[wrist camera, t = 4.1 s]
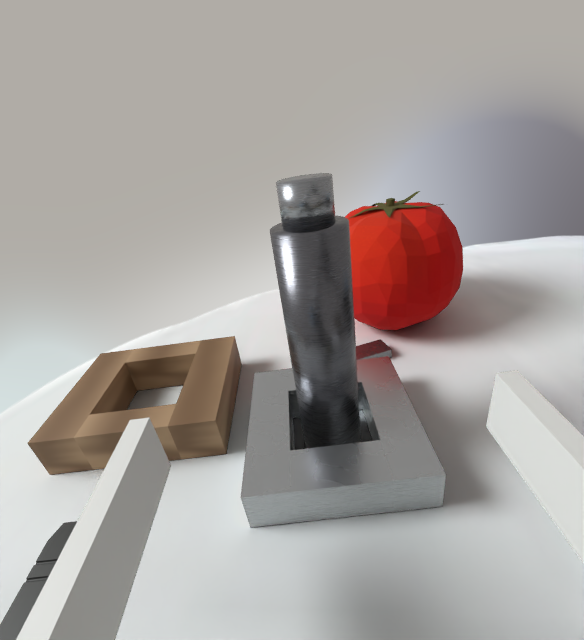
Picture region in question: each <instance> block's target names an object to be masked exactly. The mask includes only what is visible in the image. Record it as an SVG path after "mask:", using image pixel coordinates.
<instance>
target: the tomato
mask: <svg viewBox="0 0 584 640" xmlns="http://www.w3.org/2000/svg"><path fill="white" fill-rule="evenodd" d="M417 193H418V192H416V193H414V194H413V195H411V196H410V197H408V198H406V199H405V200H402V201H399V202H396V201H395V199H393V198H390V199H387V200H386V203H376V204H374V205H372V206H363V207H361V208H358V209H356V210H354V211H351V212H350V213H349V214H348V215H347V216H345V218H347V219H348V220H349V229H350V248H351V267H352V285H353V304H354V318H355V319H357V320H358V321H360V322H362V323H365V324H367V325H370V326H373V327H375V328H378V329H381V330H398V329H401V328H404V327H407V326H410V325H414V324H417V323H420V322H423V321H426V320H429V319H431V318H433V317H434V316H436V315H437V314H439V313H440V312H441V311H442V310H443V309H444V308H446V307H447V306H448V304H449V303H450V301H451V300H452V298H453V297H454V295H455V294H456V292H457V291H458V289H459V287H460V282H461V277H462V272H463V253H462V245H461V242H460V239H459V236H458V233H457V230H456V227H455V226H454V224H453V223H452V222H451V220H450V219H449V218H448V217H447V215H446V214H445V213H444V211H443V210H442V209H441V208H440V207H438V206H436V205H433V204H430V203H422V202H417V203H405V202H407V201H408V200H410V199H411V198H412V197H413V196H415V195H416V194H417ZM376 205H378V206H376Z"/></svg>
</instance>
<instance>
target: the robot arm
mask: <svg viewBox="0 0 584 640" xmlns="http://www.w3.org/2000/svg"><path fill="white" fill-rule="evenodd" d="M486 427H487V429H488V430H489V432H490V433H491V434H492V436H493V437H494V439H495V440H496V441H497V443H498V444H499V446H500V447H501V449H502V450H503V451H504V453H505V454H506V456H507V457H508V458H509V460H510V461H511V463H512V464H513V465H514V467H515V468H516V470H517V471H518V472H519V474H520V475H521V477H522V478H523V479H524V481H525V482H526V484H527V485H528V487H529V488H530V489H531V491H532V492H533V494H534V495H535V496H536V498H537V499H538V501H539V502H540V503H541V505H542V506H543V508H544V509H545V510H546V512H547V513H548V515H549V516H550V517H551V519H552V520H553V522H554V523H555V525H556V526H557V527H558V529H559V530H560V532H561V533H562V534H563V536H564V537H565V539H566V540H567V541H568V543H569V544H570V546H571V547H572V548H573V550H574V551H575V553H576V554H577V555H578V557H579V558H580V560H581V561H582V563H583V564H584V436H583V435H582V434H581V433H580V432H579V431H578V430H577V429H576V428H575V427H574V426H573V425H572V424H571V423H570V422H569V421H568V420H567V419H566V418H565V417H564V416H563V415H562V414H561V413H560V412H559V411H558V410H557V409H556V408H555V407H554V406H553V405H552V404H551V403H550V402H549V401H548V400H547V399H546V398H545V397H544V396H543V395H542V394H541V393H540V392H538V391H537V390H536V389H535V388H534V387H533V386H532V385H531V384H530V383H529V382H528V381H527V380H526V379H525V378H524V377H523V376H522V375H521V374H520V373H519V372H518V371H517V370H516V371H508V372H500V373H496V376H495V382H494V387H493V392H492V398H491V403H490V408H489V414H488V419H487V425H486ZM170 468H171V464H170V462H169V460H168V458H167V455H166V453H165V451H164V449H163V447H162V444H161V442H160V440H159V438H158V435H157V433H156V431H155V429H154V427H153V424H152V422H151V420H150V418H142V419H134V420H130V421H129V423H128V425H127V427H126V428H125V430H124V432H123V434H122V436H121V438H120V440H119V442H118V444H117V446H116V448H115V450H114V452H113V454H112V455H111V457H110V459H109V461H108V463H107V465H106V467H105V469H104V471H103V473H102V475H101V477H100V479H99V481H98V482H97V484H96V486H95V488H94V490H93V492H92V494H91V496H90V498H89V500H88V502H87V504H86V506H85V508H84V510H83V511H82V513H81V515H80V517H79V519H78V521H76V522H68V523H63V525H62V526H61V527H60V528H59V529H58V530H57V531H56V532H55V533H54V535H53V536H52V537H51V538H50V539H49V540H48V541H47V543H46V545H45V547H44V548H43V550H42V552H41V554H40V555H39V557H38V559H37V561H36V565H34V566H33V568H32V570H31V571H30V573H29V575H28V577H27V581H26V582H25V583H24V584H23V585H22V587H21V589H20V591H19V593H18V594H17V596H16V598H15V600H14V601H13V603H12V605H11V607H10V608H9V610H8V612H7V614H6V615H5V617H4V619H3V621H2V623H1V624H0V640H115V638H116V635H117V632H118V629H119V626H120V623H121V620H122V616H123V613H124V610H125V607H126V604H127V601H128V598H129V595H130V592H131V589H132V585H133V582H134V579H135V576H136V573H137V570H138V567H139V564H140V561H141V558H142V554H143V551H144V548H145V545H146V542H147V539H148V536H149V533H150V530H151V527H152V523H153V520H154V517H155V514H156V511H157V508H158V505H159V502H160V499H161V496H162V492H163V489H164V486H165V483H166V480H167V477H168V474H169V471H170Z"/></svg>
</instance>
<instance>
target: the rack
mask: <svg viewBox="0 0 584 640" xmlns="http://www.w3.org/2000/svg"><path fill="white" fill-rule="evenodd" d="M241 365H242V364H241V360H240V356H239V352H238V348H237V344H236V340H235V336H232V337H225V338H217V339H209V340H202V341H194V342H186V343H179V344H171V345H163V346H156V347H148V348H141V349H133V350H125V351H118V352H110V353H102V354H100V355H99V357H98V358H97V359H96V360H95V361H94V363H93V364H92V365H91V366H90V368H89V369H88V370H87V371H86V372H85V374H84V375H83V376H82V377H81V379H80V380H79V381H78V382H77V383H76V385H75V386H74V387H73V388H72V390H71V391H70V392H69V393H68V394H67V396H66V397H65V398H64V399H63V401H62V402H61V403H60V404H59V405H58V407H57V408H56V409H55V410H54V412H53V413H52V414H51V415H50V416H49V418H48V419H47V420H46V421H45V423H44V424H43V425H42V426H41V427H40V429H39V430H38V431H37V432H36V434H35V435H34V436H33V437H32V438H31V440H30V441H29V442H28V445H29V446H30V448H31V449H32V450H33V452H34V453H35V455H36V456H37V457H38V459H39V460H40V462H41V463H42V464H43V466H44V467H45V469H46V470H47V471H48V473H49V474H50V475H52V474H60V473H69V472H77V471H86V470H94V469H103V468H105V467H106V465H107V463H108V461H109V459H110V457H111V455H112V454H113V452H114V450H115V448H116V446H117V444H118V442H119V440H120V438H121V436H122V434H123V432H124V430H125V428H126V427H127V425H128V423H129V421H130V420H134V419H142V418H150V420H151V422H152V424H153V427H154V429H155V431H156V433H157V435H158V438H159V440H160V442H161V444H162V447H163V449H164V451H165V453H166V455H167V458H168V460H169V461H171V460H179V459H188V458H196V457H205V456H213V455H222V454H226V453H227V447H228V441H229V435H230V429H231V423H232V417H233V412H234V406H235V400H236V394H237V388H238V382H239V376H240V370H241ZM178 385H183V388H182V390H181V393H180V396H179V398H178V401H177V403H176V404H172V405H163V406H155V407H147V408H139V409H131V410H127V408H128V407H129V405H130V403H131V401H132V399H133V398H134V396H135V394H136V392H137V391H138V390H146V389H154V388H162V387H170V386H178Z"/></svg>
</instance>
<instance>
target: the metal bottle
mask: <svg viewBox="0 0 584 640" xmlns="http://www.w3.org/2000/svg"><path fill="white" fill-rule="evenodd" d="M276 185H277V193H278V200H279V207H280V213H281V220H282V223H280V224H277V225H276V226H274V227H272V228H271V229H270V235H271V242H272V247H273V253H274V260H275V266H276V271H277V278H278V284H279V290H280V296H281V302H282V308H283V314H284V320H285V326H286V333H287V339H288V345H289V351H290V357H291V363H292V369H293V375H294V381H295V387H296V393H297V399H298V405H299V411H300V417H301V423H302V430H303V436H304V442H305V448H306V449H308V448H316V447H325V446H333V445H342V444H350V443H359V442H361V435H360V416H359V397H358V379H357V360H356V341H355V323H354V304H353V285H352V267H351V248H350V229H349V220H348V219H347V218H345V217H341V216H335V210H334V209H335V208H334V195H333V181H332V174H329V173H320V174H309V175H301V176H295V177H291V178H286V179H282V180H279V181H277V182H276Z"/></svg>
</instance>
